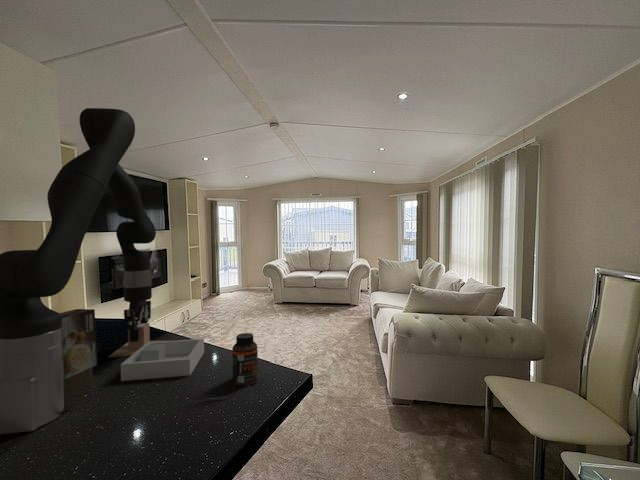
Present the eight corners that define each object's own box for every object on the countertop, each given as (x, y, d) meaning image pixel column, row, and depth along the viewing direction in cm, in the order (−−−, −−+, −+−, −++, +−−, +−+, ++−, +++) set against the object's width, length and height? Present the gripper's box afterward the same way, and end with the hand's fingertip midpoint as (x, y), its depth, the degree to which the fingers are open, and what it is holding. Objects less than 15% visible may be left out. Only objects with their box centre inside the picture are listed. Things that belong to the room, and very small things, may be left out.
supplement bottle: (245, 390, 70) (244, 340, 70) (227, 384, 73) (226, 336, 73) (263, 379, 75) (262, 333, 75) (245, 374, 78) (244, 330, 78)
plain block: (159, 368, 81) (158, 349, 81) (140, 370, 81) (140, 351, 81) (165, 361, 86) (164, 344, 86) (147, 363, 85) (147, 345, 85)
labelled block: (144, 349, 95) (143, 326, 95) (128, 350, 94) (127, 327, 94) (149, 344, 99) (149, 322, 99) (134, 345, 98) (134, 323, 98)
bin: (190, 377, 77) (189, 359, 77) (121, 383, 75) (120, 364, 75) (204, 353, 93) (203, 338, 93) (147, 358, 90) (147, 342, 90)
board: (152, 356, 92) (152, 353, 92) (108, 359, 90) (108, 356, 90) (166, 342, 103) (166, 339, 103) (127, 345, 102) (127, 342, 102)
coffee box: (78, 365, 86) (77, 308, 86) (97, 366, 85) (96, 308, 85) (43, 380, 77) (41, 316, 77) (64, 382, 76) (62, 317, 76)
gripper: (140, 287, 90) (142, 344, 90) (158, 281, 104) (160, 330, 104) (113, 289, 89) (114, 346, 89) (135, 282, 103) (136, 331, 103)
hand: (139, 337), depth 97 cm, fingers open, 6 cm apart
